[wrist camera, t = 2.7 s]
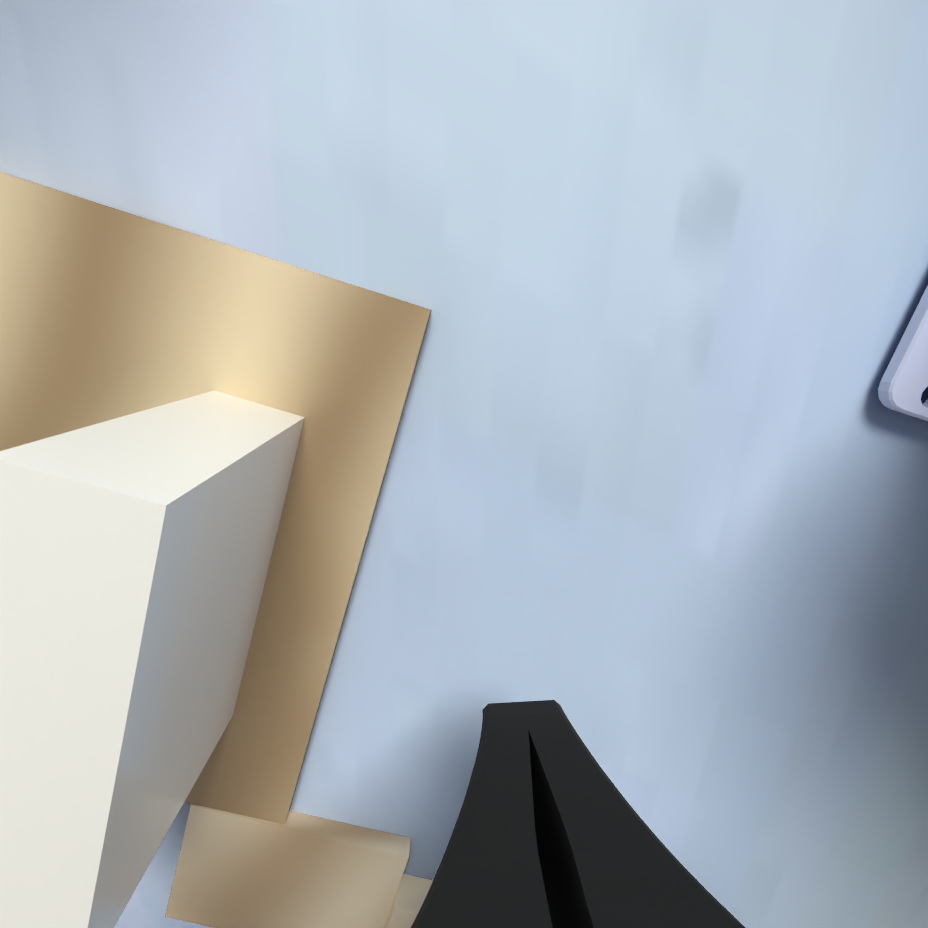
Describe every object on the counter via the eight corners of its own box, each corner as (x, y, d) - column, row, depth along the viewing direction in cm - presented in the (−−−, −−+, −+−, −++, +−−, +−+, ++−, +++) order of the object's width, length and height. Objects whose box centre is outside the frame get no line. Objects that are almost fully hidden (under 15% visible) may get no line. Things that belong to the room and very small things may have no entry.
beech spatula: (640, 893, 16) (652, 929, 15) (592, 989, 17) (600, 1029, 16) (200, 786, 15) (183, 818, 14) (175, 895, 16) (157, 931, 15)
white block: (304, 417, 12) (166, 505, 6) (232, 715, 14) (75, 997, 8) (209, 389, 12) (-26, 453, 6) (149, 695, 14) (-74, 968, 8)
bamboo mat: (431, 310, 12) (430, 309, 12) (288, 811, 15) (284, 824, 15) (-375, 52, 10) (-407, 41, 10) (-341, 668, 14) (-364, 678, 13)
